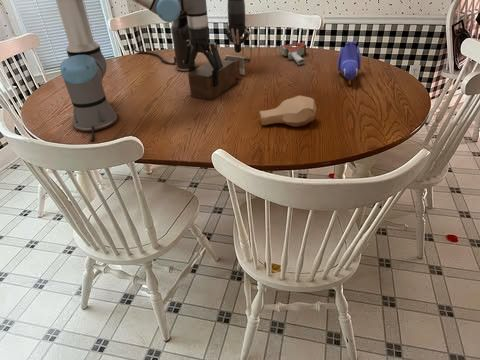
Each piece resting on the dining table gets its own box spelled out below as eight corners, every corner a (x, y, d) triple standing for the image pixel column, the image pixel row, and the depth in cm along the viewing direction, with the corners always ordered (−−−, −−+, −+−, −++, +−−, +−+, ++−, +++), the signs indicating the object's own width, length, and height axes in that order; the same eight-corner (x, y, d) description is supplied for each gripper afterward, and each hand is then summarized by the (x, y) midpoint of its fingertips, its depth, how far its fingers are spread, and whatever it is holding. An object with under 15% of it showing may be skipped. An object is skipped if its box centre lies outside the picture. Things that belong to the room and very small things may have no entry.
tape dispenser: (301, 69, 172) (317, 54, 185) (301, 58, 169) (318, 44, 181) (269, 62, 180) (286, 49, 192) (269, 52, 176) (287, 39, 189)
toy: (336, 78, 167) (337, 88, 145) (337, 40, 160) (339, 44, 138) (358, 77, 165) (363, 87, 142) (360, 39, 158) (366, 42, 136)
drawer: (234, 67, 172) (233, 51, 167) (251, 69, 168) (250, 53, 163) (206, 85, 155) (204, 67, 151) (223, 88, 151) (222, 70, 147)
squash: (320, 127, 121) (320, 106, 115) (262, 137, 123) (259, 116, 116) (314, 109, 129) (313, 87, 122) (259, 119, 130) (256, 98, 124)
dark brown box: (216, 80, 162) (214, 58, 157) (236, 83, 158) (234, 61, 152) (191, 96, 149) (187, 73, 143) (211, 100, 145) (208, 76, 139)
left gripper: (229, 26, 131) (233, 84, 144) (180, 22, 141) (188, 77, 154) (218, 31, 126) (223, 91, 139) (168, 27, 136) (177, 83, 149)
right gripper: (254, 10, 152) (254, 51, 163) (227, 8, 158) (229, 48, 168) (245, 14, 147) (246, 56, 158) (218, 11, 153) (221, 52, 163)
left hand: (205, 83), depth 147 cm, fingers closed on dark brown box, 10 cm apart
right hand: (237, 52), depth 163 cm, fingers closed
